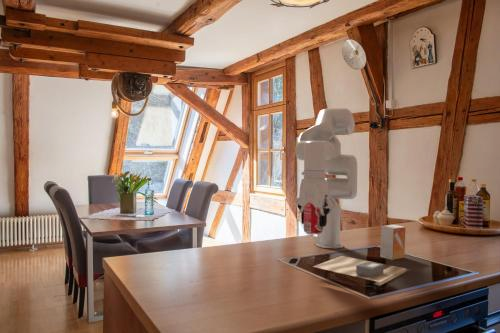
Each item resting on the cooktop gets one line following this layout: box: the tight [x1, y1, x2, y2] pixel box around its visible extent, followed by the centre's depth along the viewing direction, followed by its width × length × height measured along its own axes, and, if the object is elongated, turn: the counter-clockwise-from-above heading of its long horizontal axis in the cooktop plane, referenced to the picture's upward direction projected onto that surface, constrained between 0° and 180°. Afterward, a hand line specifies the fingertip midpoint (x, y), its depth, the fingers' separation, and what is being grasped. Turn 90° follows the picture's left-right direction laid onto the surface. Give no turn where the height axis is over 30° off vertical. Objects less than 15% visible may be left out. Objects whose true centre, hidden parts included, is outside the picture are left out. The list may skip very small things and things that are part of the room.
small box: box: [379, 224, 406, 261], centre depth 170 cm, size 8×6×13 cm
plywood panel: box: [312, 255, 407, 286], centre depth 150 cm, size 26×22×1 cm
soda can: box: [303, 201, 323, 236], centre depth 146 cm, size 7×7×12 cm
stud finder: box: [356, 260, 384, 278], centre depth 142 cm, size 6×8×3 cm
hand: (313, 224), depth 147 cm, fingers closed on soda can, 7 cm apart
